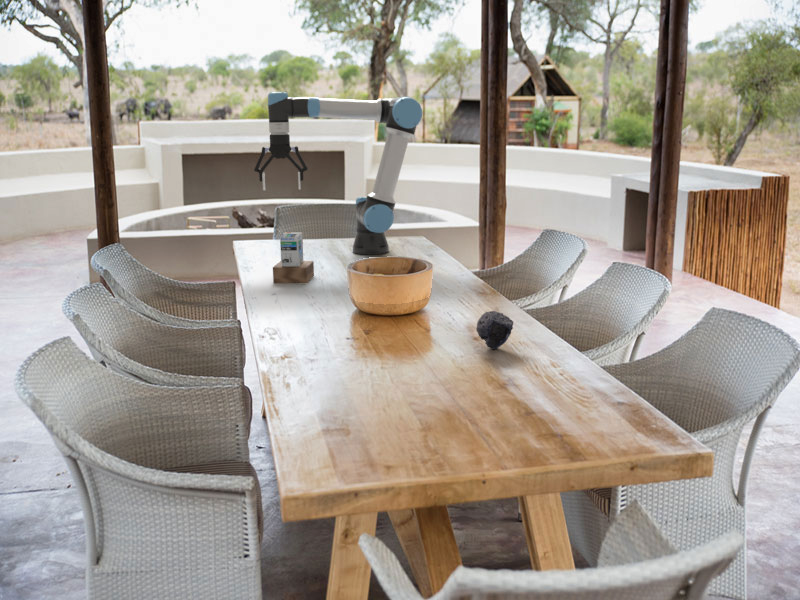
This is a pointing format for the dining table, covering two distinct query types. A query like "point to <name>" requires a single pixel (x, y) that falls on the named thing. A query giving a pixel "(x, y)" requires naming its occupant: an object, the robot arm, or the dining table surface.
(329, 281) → the dining table surface
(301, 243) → the light bulb box
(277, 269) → the walnut block
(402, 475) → the dining table surface
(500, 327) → the pumice stone
